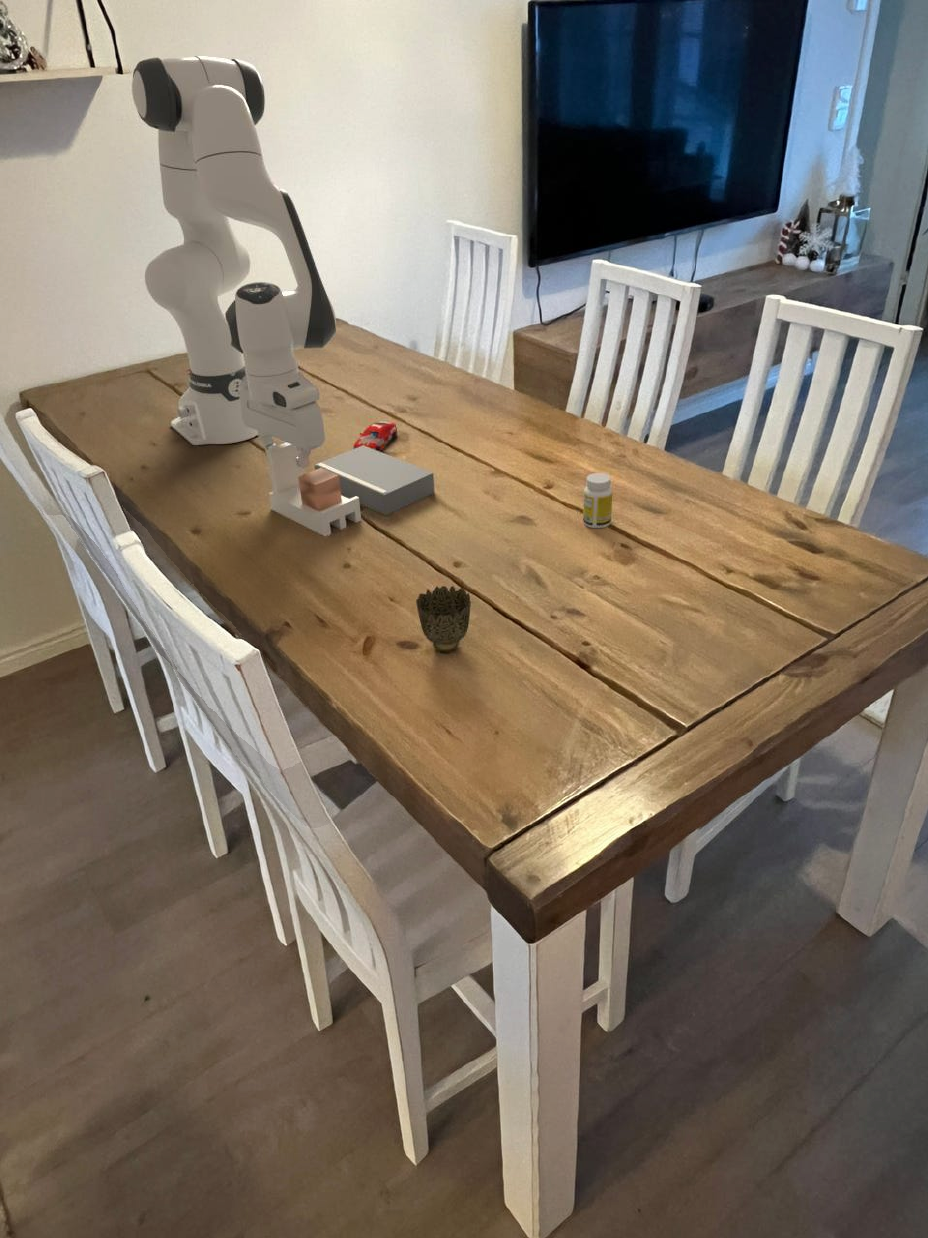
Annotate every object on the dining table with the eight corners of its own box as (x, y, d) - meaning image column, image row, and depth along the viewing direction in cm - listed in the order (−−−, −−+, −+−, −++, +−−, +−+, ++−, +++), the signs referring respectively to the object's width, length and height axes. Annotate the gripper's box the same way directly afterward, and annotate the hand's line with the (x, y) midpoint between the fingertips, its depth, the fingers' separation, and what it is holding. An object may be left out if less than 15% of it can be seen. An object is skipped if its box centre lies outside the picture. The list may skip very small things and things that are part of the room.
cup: (418, 634, 129) (415, 587, 125) (470, 630, 130) (468, 582, 125) (421, 665, 123) (417, 616, 119) (475, 660, 124) (473, 612, 119)
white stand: (271, 509, 165) (261, 451, 159) (306, 495, 169) (298, 437, 163) (325, 537, 155) (317, 476, 149) (361, 520, 160) (354, 461, 154)
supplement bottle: (613, 518, 157) (615, 473, 152) (607, 530, 153) (610, 485, 148) (586, 514, 158) (587, 470, 153) (580, 527, 154) (581, 482, 150)
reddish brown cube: (302, 503, 159) (297, 477, 156) (324, 493, 162) (320, 467, 159) (319, 511, 156) (315, 485, 153) (342, 501, 159) (338, 475, 156)
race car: (373, 460, 182) (371, 441, 180) (349, 456, 184) (347, 438, 182) (402, 435, 192) (400, 417, 190) (379, 432, 194) (377, 414, 192)
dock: (317, 484, 173) (314, 463, 171) (365, 463, 180) (363, 444, 177) (385, 515, 161) (383, 494, 159) (434, 492, 168) (433, 471, 165)
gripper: (224, 378, 159) (239, 451, 166) (294, 402, 146) (307, 480, 154) (254, 368, 162) (268, 440, 170) (325, 391, 150) (336, 468, 158)
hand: (287, 460), depth 162 cm, fingers open, 8 cm apart
